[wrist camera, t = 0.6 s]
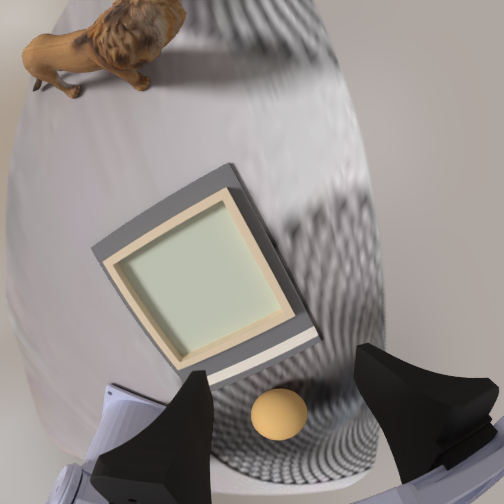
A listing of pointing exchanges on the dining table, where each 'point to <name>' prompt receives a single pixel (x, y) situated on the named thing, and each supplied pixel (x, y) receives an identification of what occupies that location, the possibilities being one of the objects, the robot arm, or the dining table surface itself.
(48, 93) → the dining table surface
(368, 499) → the robot arm
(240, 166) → the dining table surface
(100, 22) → the lion figurine
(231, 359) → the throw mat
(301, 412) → the ball
